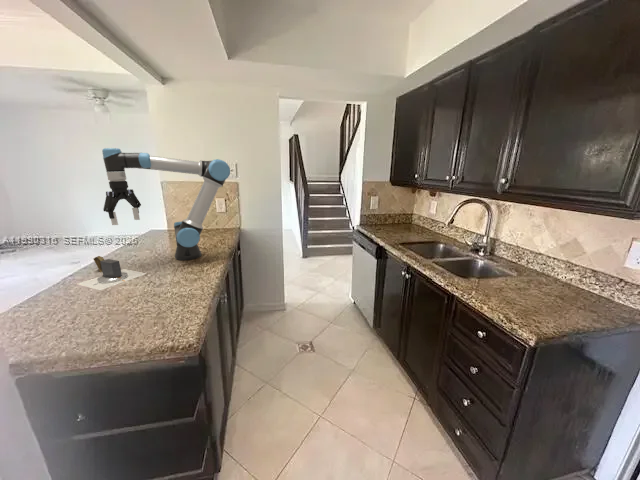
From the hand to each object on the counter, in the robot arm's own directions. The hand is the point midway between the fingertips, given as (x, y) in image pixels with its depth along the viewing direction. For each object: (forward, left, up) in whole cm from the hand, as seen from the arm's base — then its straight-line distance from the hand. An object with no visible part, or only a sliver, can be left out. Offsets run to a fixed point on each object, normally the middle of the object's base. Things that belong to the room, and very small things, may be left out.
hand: (126, 222), depth 141 cm
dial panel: (+14, +4, -27) cm, 31 cm away
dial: (+14, +4, -26) cm, 29 cm away
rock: (+7, -14, -27) cm, 31 cm away
